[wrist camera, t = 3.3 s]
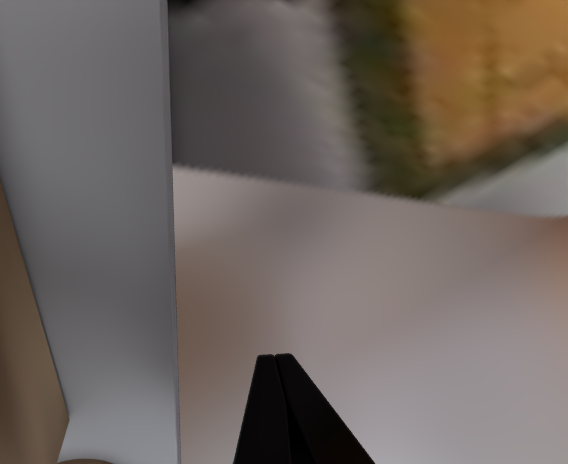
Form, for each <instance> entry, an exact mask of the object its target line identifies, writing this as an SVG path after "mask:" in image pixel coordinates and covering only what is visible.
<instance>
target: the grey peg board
mask: <svg viewBox="0 0 568 464" xmlns="http://www.w3.org/2000/svg"><path fill="white" fill-rule="evenodd" d="M0 181H1V185H2V188H3V192H4V195H5V199H6V202H7V205H8V209H9V212H10V216H11V219H12V223H13V226H14V230H15V233H16V237H17V240H18V243H19V247H20V250H21V254H22V257H23V261H24V264H25V268H26V271H27V274H28V278H29V281H30V285H31V288H32V292H33V295H34V299H35V302H36V306H37V309H38V312H39V316H40V319H41V323H42V326H43V330H44V333H45V337H46V340H47V343H48V347H49V350H50V354H51V357H52V361H53V364H54V368H55V371H56V375H57V378H58V381H59V385H60V388H61V392H62V395H63V399H64V402H65V406H66V409H67V412H68V416H69V419H70V421H69V424H68V427H67V431H66V434H65V437H64V441H63V444H62V448H61V451H60V454H59V458H58V461H57V464H181V447H180V416H179V415H180V413H179V380H178V347H177V346H178V345H177V311H176V277H175V245H174V212H173V211H174V209H173V178H172V141H171V107H170V73H169V40H168V6H167V0H0Z"/></svg>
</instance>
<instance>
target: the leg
mask: <svg viewBox="0 0 568 464" xmlns="http://www.w3.org/2000/svg"><path fill="white" fill-rule="evenodd" d="M69 421H70V419H69V416H68V412H67V409H66V406H65V402H64V399H63V395H62V392H61V388H60V385H59V381H58V378H57V375H56V371H55V368H54V364H53V361H52V357H51V354H50V350H49V347H48V343H47V340H46V337H45V333H44V330H43V326H42V323H41V319H40V316H39V312H38V309H37V306H36V302H35V299H34V295H33V292H32V288H31V285H30V281H29V278H28V274H27V271H26V268H25V264H24V261H23V257H22V254H21V250H20V247H19V243H18V240H17V237H16V233H15V230H14V226H13V223H12V219H11V216H10V212H9V209H8V205H7V202H6V199H5V195H4V192H3V188H2V185H1V181H0V464H57V461H58V458H59V454H60V451H61V448H62V444H63V441H64V437H65V434H66V431H67V427H68V424H69Z"/></svg>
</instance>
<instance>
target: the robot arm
mask: <svg viewBox="0 0 568 464" xmlns="http://www.w3.org/2000/svg"><path fill="white" fill-rule="evenodd" d="M233 464H375V463H374V461H373V460H372V459H371V457H370V456H369V455H368V454H367V452H366V451H365V449H364V448H363V447H362V445H361V444H360V443H359V442H358V440H357V439H356V438H355V436H354V435H353V434H352V432H351V431H350V430H349V428H348V427H347V426H346V425H345V423H344V422H343V420H342V419H341V418H340V417H339V415H338V414H337V413H336V411H335V410H334V409H333V407H332V406H331V405H330V404H329V402H328V401H327V400H326V398H325V397H324V396H323V394H322V393H321V392H320V390H319V389H318V388H317V386H316V385H315V384H314V383H313V381H312V380H311V378H310V377H309V376H308V375H307V373H306V372H305V371H304V369H303V368H302V367H301V365H300V364H299V363H298V362H297V360H296V359H295V358H294V356H293V355H292V354H289V353H285V354H276V355H275V356H274V355H272V354H268V355H259V356H258V357H257V360H256V365H255V369H254V374H253V378H252V382H251V387H250V391H249V395H248V400H247V404H246V409H245V413H244V417H243V422H242V426H241V431H240V435H239V439H238V444H237V448H236V453H235V457H234V461H233Z"/></svg>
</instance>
